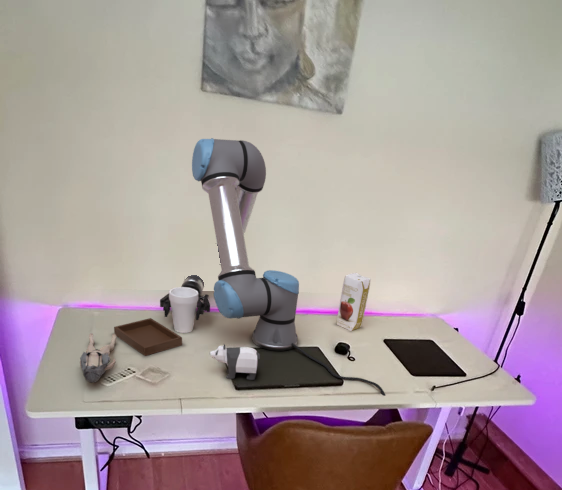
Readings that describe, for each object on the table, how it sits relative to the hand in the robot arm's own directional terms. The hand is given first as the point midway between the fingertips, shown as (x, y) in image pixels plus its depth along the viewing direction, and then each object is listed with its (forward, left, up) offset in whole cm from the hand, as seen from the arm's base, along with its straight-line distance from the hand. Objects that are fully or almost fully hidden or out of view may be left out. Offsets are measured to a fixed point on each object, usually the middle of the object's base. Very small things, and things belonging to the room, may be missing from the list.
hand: (181, 314), depth 168 cm
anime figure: (-4, +32, -7) cm, 33 cm away
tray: (+2, +11, -7) cm, 14 cm away
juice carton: (-27, -56, -7) cm, 63 cm away
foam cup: (+3, -3, -7) cm, 8 cm away
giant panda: (-31, +3, -7) cm, 32 cm away
